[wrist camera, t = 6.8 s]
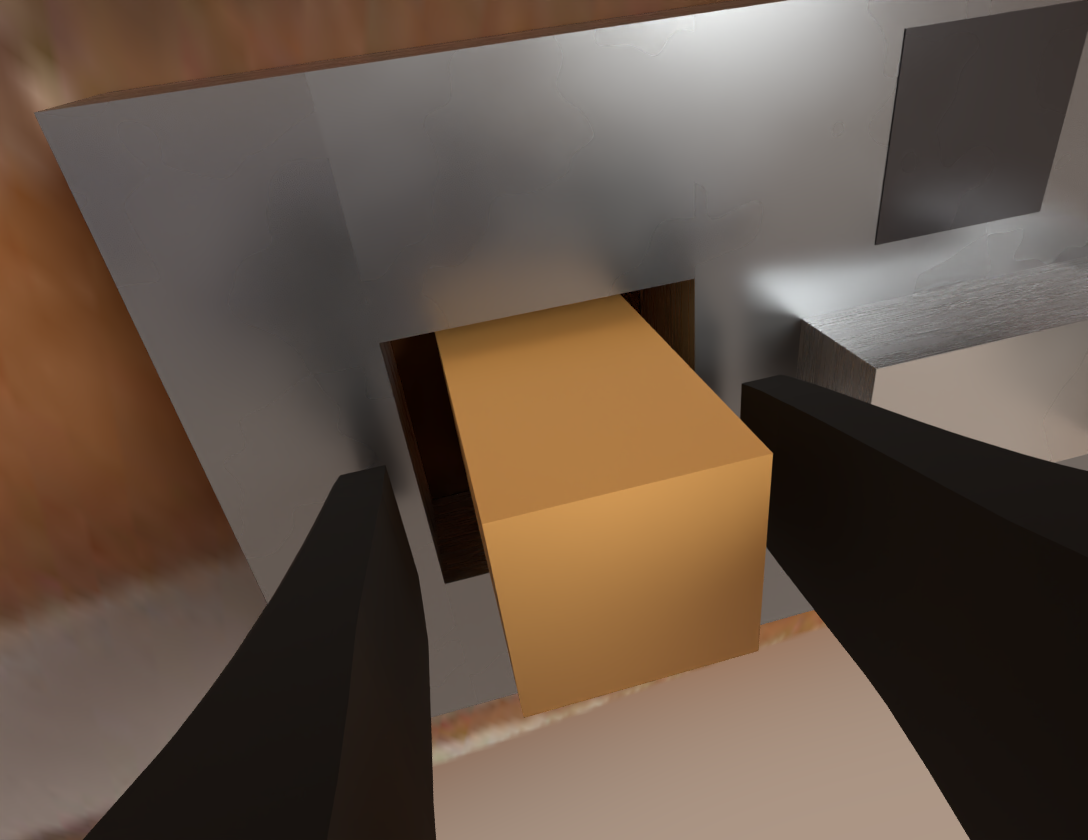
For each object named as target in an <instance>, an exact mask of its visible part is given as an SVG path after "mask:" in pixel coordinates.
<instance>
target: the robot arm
mask: <svg viewBox="0 0 1088 840" xmlns="http://www.w3.org/2000/svg"><path fill="white" fill-rule="evenodd" d="M740 420H741V421H742V422H743V423H744V424H745V425H746V426H747V427H748V428H749V429H750V430H751V431H752V432H753V433H754V434H755V435H756V436H757V437H758V438H759V439H760V440H761V441H762V442H763V443H764V444H765V445H766V447H767V448H768V449H769V450H770V451H771V452H772V453H773V460H772V474H771V487H770V500H769V514H768V527H767V541H766V547H767V549H768V550H769V552H770V553H771V554H772V556H773V557H774V558H775V560H776V561H777V562H778V564H779V565H780V566H781V568H782V569H783V570H784V572H785V573H786V574H787V575H788V577H789V578H790V579H791V581H792V582H793V583H794V585H795V586H796V587H797V588H798V590H799V591H800V592H801V594H802V595H803V596H804V597H805V599H806V600H807V601H808V603H809V604H810V605H811V606H812V608H813V609H814V610H815V611H816V613H817V614H818V615H819V617H820V618H821V619H822V620H823V622H824V623H825V624H826V625H827V627H828V628H829V629H830V631H831V632H832V633H833V634H834V636H835V637H836V638H837V639H838V641H839V642H840V643H841V645H842V646H843V647H844V648H845V650H846V651H847V652H848V653H849V655H850V656H851V657H852V658H853V660H854V661H855V662H856V663H857V665H858V666H859V667H860V669H861V670H862V671H863V672H864V674H865V675H866V677H867V678H868V679H869V681H870V682H871V684H872V685H873V686H874V688H875V689H876V690H877V692H878V693H879V695H880V696H881V697H882V699H883V700H884V702H885V703H886V704H887V706H888V707H889V709H890V711H891V712H892V714H893V715H894V717H895V719H896V720H897V722H898V723H899V725H900V726H901V728H902V730H903V731H904V733H905V734H906V736H907V737H908V739H909V741H910V742H911V744H912V745H913V747H914V748H915V750H916V751H917V753H918V755H919V756H920V758H921V759H922V761H923V762H924V764H925V766H926V767H927V769H928V770H929V772H930V774H931V775H932V777H933V778H934V780H935V782H936V784H937V785H938V787H939V789H940V790H941V792H942V793H943V795H944V797H945V799H946V800H947V802H948V803H949V805H950V807H951V808H952V810H953V812H954V814H955V815H956V817H957V819H958V820H959V822H960V824H961V825H962V827H963V829H964V830H965V832H966V834H967V835H968V837H969V838H970V840H1088V471H1086V470H1082V469H1078V468H1074V467H1069V466H1065V465H1061V464H1057V463H1054V462H1050V461H1046V460H1043V459H1039V458H1035V457H1032V456H1028V455H1025V454H1021V453H1018V452H1015V451H1011V450H1008V449H1005V448H1001V447H998V446H995V445H992V444H988V443H985V442H982V441H978V440H975V439H972V438H969V437H966V436H962V435H959V434H956V433H953V432H950V431H947V430H944V429H941V428H938V427H935V426H932V425H929V424H926V423H924V422H921V421H918V420H915V419H912V418H909V417H906V416H903V415H901V414H898V413H895V412H892V411H889V410H887V409H884V408H881V407H878V406H875V405H873V404H870V403H867V402H864V401H861V400H859V399H856V398H853V397H850V396H847V395H845V394H842V393H839V392H836V391H833V390H830V389H827V388H825V387H822V386H819V385H816V384H813V383H810V382H806V381H803V380H800V379H796V378H793V377H789V376H785V375H781V374H780V375H776V376H772V377H767V378H763V379H759V380H754V381H750V382H745V383H742V384H741V409H740ZM83 840H436V832H435V818H434V804H433V770H432V737H431V703H430V672H429V645H428V635H427V628H426V621H425V614H424V607H423V601H422V594H421V588H420V581H419V575H418V572H417V568H416V565H415V562H414V558H413V555H412V552H411V548H410V545H409V542H408V538H407V535H406V532H405V528H404V525H403V522H402V518H401V515H400V512H399V508H398V505H397V502H396V498H395V495H394V492H393V488H392V485H391V482H390V478H389V475H388V472H387V468H386V465H382V466H378V467H374V468H369V469H365V470H361V471H356V472H352V473H347V474H343V475H340V476H339V477H338V479H337V480H336V482H335V483H334V485H333V487H332V488H331V490H330V492H329V494H328V496H327V498H326V500H325V502H324V504H323V506H322V508H321V510H320V512H319V514H318V516H317V518H316V520H315V522H314V524H313V526H312V528H311V530H310V531H309V533H308V535H307V537H306V539H305V541H304V543H303V544H302V546H301V548H300V550H299V552H298V553H297V555H296V557H295V559H294V560H293V562H292V564H291V565H290V567H289V569H288V571H287V572H286V574H285V576H284V578H283V579H282V581H281V583H280V585H279V586H278V588H277V590H276V591H275V593H274V595H273V596H272V598H271V600H270V601H269V603H268V604H267V606H266V607H265V609H264V610H263V612H262V613H261V615H260V616H259V618H258V620H257V621H256V623H255V624H254V626H253V627H252V629H251V630H250V632H249V633H248V635H247V636H246V638H245V639H244V641H243V643H242V644H241V646H240V647H239V649H238V650H237V652H236V653H235V655H234V656H233V658H232V659H231V660H230V662H229V663H228V665H227V666H226V667H225V669H224V670H223V672H222V673H221V674H220V676H219V677H218V679H217V680H216V681H215V683H214V684H213V686H212V687H211V688H210V690H209V691H208V692H207V694H206V695H205V696H204V698H203V699H202V700H201V702H200V703H199V704H198V705H197V707H196V708H195V709H194V711H193V712H192V713H191V714H190V716H189V717H188V718H187V720H186V721H185V722H184V724H183V725H182V726H181V727H180V729H179V730H178V731H177V733H176V734H175V735H174V736H173V737H172V739H171V740H170V741H169V742H168V744H167V745H166V746H165V747H164V748H163V750H162V751H161V752H160V753H159V754H158V755H157V756H156V758H155V759H154V760H153V761H152V762H151V763H150V764H149V765H148V767H147V768H146V769H145V770H144V771H143V772H142V773H141V775H140V776H139V777H138V778H137V779H136V780H135V781H134V782H133V784H132V785H131V786H130V787H129V788H128V789H127V790H126V791H125V793H124V794H123V795H122V796H121V797H120V798H119V799H118V801H117V802H116V803H115V804H114V805H113V806H112V807H111V808H110V810H109V811H108V812H107V813H106V814H105V815H104V816H103V818H102V819H101V820H100V821H99V822H98V823H97V824H96V825H95V827H94V828H93V829H92V830H91V831H90V832H89V833H88V834H87V836H86V837H85V838H84V839H83Z"/></svg>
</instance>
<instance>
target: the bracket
mask: <svg viewBox="0 0 1088 840" xmlns="http://www.w3.org/2000/svg"><path fill="white" fill-rule="evenodd" d="M796 379H800V380H803V381H806V382H810V383H813V384H816V385H819V386H822V387H825V388H827V389H830V390H833V391H836V392H839V393H842V394H845V395H847V396H850V397H853V398H856V399H859V400H861V401H864V402H867V403H870V404H873V405H875V406H878V407H881V408H884V409H887V410H889V411H892V412H895V413H898V414H901V415H903V416H906V417H909V418H912V419H915V420H918V421H921V422H924V423H926V424H929V425H932V426H935V427H938V428H941V429H944V430H947V431H950V432H953V433H956V434H959V435H962V436H966V437H969V438H972V439H975V440H978V441H982V442H985V443H988V444H992V445H995V446H998V447H1001V448H1005V449H1008V450H1011V451H1015V452H1018V453H1021V454H1025V455H1028V456H1032V457H1035V458H1039V459H1043V460H1046V461H1050V462H1054V463H1055V462H1059V461H1063V460H1066V459H1070V458H1074V457H1078V456H1082V455H1086V454H1088V257H1083V258H1078V259H1074V260H1069V261H1065V262H1060V263H1055V264H1051V265H1046V266H1042V267H1037V268H1032V269H1028V270H1023V271H1019V272H1014V273H1009V274H1005V275H1000V276H996V277H991V278H987V279H982V280H977V281H973V282H968V283H964V284H959V285H954V286H950V287H945V288H941V289H936V290H931V291H927V292H922V293H918V294H913V295H908V296H904V297H899V298H895V299H890V300H885V301H881V302H876V303H872V304H867V305H862V306H858V307H853V308H849V309H844V310H840V311H835V312H830V313H826V314H821V315H817V316H812V317H807V318H803V319H802V321H801V332H800V343H799V355H798V366H797V377H796Z"/></svg>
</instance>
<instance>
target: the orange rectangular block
mask: <svg viewBox="0 0 1088 840" xmlns="http://www.w3.org/2000/svg"><path fill="white" fill-rule="evenodd" d="M434 333H435V337H436V342H437V346H438V351H439V355H440V360H441V364H442V369H443V373H444V378H445V382H446V387H447V391H448V396H449V400H450V405H451V410H452V414H453V419H454V423H455V428H456V432H457V437H458V441H459V446H460V450H461V454H462V459H463V463H464V467H465V471H466V476H467V480H468V484H469V488H470V492H471V497H472V501H473V505H474V509H475V514H476V518H477V522H478V526H479V531H480V535H481V539H482V543H483V547H484V552H485V556H486V560H487V564H488V569H489V573H490V577H491V581H492V586H493V590H494V594H495V598H496V602H497V607H498V611H499V615H500V619H501V624H502V628H503V632H504V636H505V641H506V645H507V649H508V653H509V657H510V662H511V666H512V670H513V674H514V679H515V683H516V687H517V691H518V696H519V700H520V704H521V708H522V712H523V717H524V718H525V717H529V716H532V715H536V714H539V713H543V712H546V711H550V710H553V709H557V708H560V707H564V706H567V705H571V704H574V703H578V702H581V701H585V700H588V699H592V698H595V697H599V696H602V695H606V694H609V693H613V692H616V691H620V690H623V689H627V688H630V687H634V686H637V685H641V684H644V683H648V682H651V681H655V680H658V679H662V678H665V677H669V676H672V675H676V674H679V673H683V672H686V671H690V670H693V669H697V668H700V667H704V666H707V665H711V664H714V663H718V662H721V661H725V660H728V659H732V658H735V657H739V656H742V655H746V654H749V653H753V652H756V651H758V649H759V635H760V622H761V608H762V595H763V581H764V568H765V554H766V541H767V527H768V514H769V500H770V487H771V474H772V460H773V453H772V452H771V451H770V450H769V449H768V448H767V447H766V445H765V444H764V443H763V442H762V441H761V440H760V439H759V438H758V437H757V436H756V435H755V434H754V433H753V432H752V431H751V430H750V429H749V428H748V427H747V426H746V425H745V424H744V423H743V422H742V421H741V420H740V418H739V417H738V416H737V415H736V414H735V413H734V412H733V411H732V410H731V409H730V408H729V407H728V406H727V405H726V404H725V403H724V402H723V401H722V400H721V399H720V398H719V397H718V396H717V395H716V394H715V392H714V391H713V390H712V389H711V388H710V387H709V386H708V385H707V384H706V383H705V382H704V381H703V380H702V379H701V378H700V377H699V376H698V375H697V374H696V373H695V372H694V371H693V370H692V369H691V368H690V366H689V365H688V364H687V363H686V362H685V361H684V360H683V359H682V358H681V357H680V356H679V355H678V354H677V353H676V352H675V351H674V350H673V349H672V348H671V347H670V346H669V345H668V344H667V343H666V342H665V340H664V339H663V338H662V337H661V336H660V335H659V334H658V333H657V332H656V331H655V330H654V329H653V328H652V327H651V326H650V325H649V324H648V323H647V322H646V321H645V320H644V319H643V318H642V317H641V316H640V315H639V313H638V312H637V311H636V310H635V309H634V308H633V307H632V306H631V305H630V304H629V303H628V302H627V301H626V300H625V299H624V298H623V297H622V296H621V295H620V294H617V295H612V296H607V297H602V298H597V299H592V300H587V301H582V302H578V303H573V304H568V305H563V306H558V307H553V308H548V309H543V310H538V311H534V312H529V313H524V314H519V315H514V316H509V317H504V318H499V319H494V320H489V321H485V322H480V323H475V324H470V325H465V326H460V327H455V328H450V329H445V330H441V331H436V332H434Z"/></svg>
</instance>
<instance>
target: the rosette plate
mask: <svg viewBox="0 0 1088 840" xmlns="http://www.w3.org/2000/svg"><path fill="white" fill-rule="evenodd" d="M34 114H35V116H36V118H37V120H38V122H39V124H40V127H41V129H42V131H43V133H44V135H45V137H46V139H47V141H48V143H49V145H50V148H51V150H52V152H53V154H54V156H55V158H56V160H57V162H58V164H59V166H60V169H61V171H62V173H63V175H64V177H65V179H66V181H67V183H68V185H69V188H70V190H71V192H72V194H73V196H74V198H75V200H76V202H77V204H78V206H79V209H80V211H81V213H82V215H83V217H84V219H85V221H86V223H87V225H88V227H89V230H90V232H91V234H92V236H93V238H94V240H95V242H96V244H97V246H98V248H99V251H100V253H101V255H102V257H103V259H104V261H105V263H106V265H107V267H108V269H109V272H110V274H111V276H112V278H113V280H114V282H115V284H116V286H117V288H118V290H119V293H120V295H121V297H122V299H123V301H124V303H125V305H126V307H127V309H128V312H129V314H130V316H131V318H132V320H133V322H134V324H135V326H136V328H137V330H138V333H139V335H140V337H141V339H142V341H143V343H144V345H145V347H146V349H147V351H148V354H149V356H150V358H151V360H152V362H153V364H154V366H155V368H156V370H157V372H158V375H159V377H160V379H161V381H162V383H163V385H164V387H165V389H166V391H167V393H168V396H169V398H170V400H171V402H172V404H173V406H174V408H175V410H176V412H177V415H178V417H179V419H180V421H181V423H182V425H183V427H184V429H185V431H186V433H187V436H188V438H189V440H190V442H191V444H192V446H193V448H194V450H195V452H196V454H197V457H198V459H199V461H200V463H201V465H202V467H203V469H204V471H205V473H206V475H207V478H208V480H209V482H210V484H211V486H212V488H213V490H214V492H215V494H216V496H217V499H218V501H219V503H220V505H221V507H222V509H223V511H224V513H225V515H226V517H227V520H228V522H229V524H230V526H231V528H232V530H233V532H234V534H235V536H236V539H237V541H238V543H239V545H240V547H241V549H242V551H243V553H244V555H245V557H246V560H247V562H248V564H249V566H250V568H251V570H252V572H253V574H254V576H255V578H256V581H257V583H258V585H259V587H260V589H261V591H262V593H263V595H264V597H265V599H266V602H267V604H268V603H269V601H270V600H271V598H272V596H273V595H274V593H275V591H276V590H277V588H278V586H279V585H280V583H281V581H282V579H283V578H284V576H285V574H286V572H287V571H288V569H289V567H290V565H291V564H292V562H293V560H294V559H295V557H296V555H297V553H298V552H299V550H300V548H301V546H302V544H303V543H304V541H305V539H306V537H307V535H308V533H309V531H310V530H311V528H312V526H313V524H314V522H315V520H316V518H317V516H318V514H319V512H320V510H321V508H322V506H323V504H324V502H325V500H326V498H327V496H328V494H329V492H330V490H331V488H332V487H333V485H334V483H335V482H336V480H337V479H338V477H339V476H340V475H343V474H347V473H352V472H356V471H361V470H365V469H369V468H374V467H378V466H382V465H386V468H387V472H388V475H389V478H390V482H391V485H392V488H393V492H394V495H395V498H396V502H397V505H398V508H399V512H400V515H401V518H402V522H403V525H404V528H405V532H406V535H407V538H408V542H409V545H410V548H411V552H412V555H413V558H414V562H415V565H416V568H417V572H418V575H419V581H420V588H421V594H422V601H423V607H424V614H425V621H426V628H427V635H428V645H429V672H430V703H431V717H434V716H438V715H441V714H445V713H448V712H452V711H455V710H459V709H463V708H466V707H470V706H473V705H477V704H480V703H484V702H487V701H491V700H495V699H498V698H502V697H505V696H509V695H512V694H516V693H518V691H517V687H516V683H515V679H514V674H513V670H512V666H511V662H510V657H509V653H508V649H507V645H506V641H505V636H504V632H503V628H502V624H501V619H500V615H499V611H498V607H497V602H496V598H495V594H494V590H493V586H492V581H491V577H490V573H489V569H488V564H487V560H486V556H485V552H484V547H483V543H482V539H481V535H480V531H479V526H478V522H477V518H476V514H475V509H474V505H473V501H472V497H471V492H470V491H468V492H463V493H459V494H455V495H451V496H447V497H442V498H438V499H434V500H432V497H431V494H430V490H429V486H428V482H427V478H426V475H425V471H424V467H423V463H422V459H421V456H420V452H419V448H418V444H417V440H416V437H415V433H414V429H413V425H412V421H411V418H410V414H409V410H408V406H407V402H406V399H405V395H404V391H403V387H402V383H401V380H400V376H399V372H398V368H397V364H396V361H395V357H394V353H393V349H392V345H391V342H390V341H392V340H397V339H401V338H406V337H411V336H416V335H421V334H426V333H431V332H436V331H441V330H445V329H450V328H455V327H460V326H465V325H470V324H475V323H480V322H485V321H489V320H494V319H499V318H504V317H509V316H514V315H519V314H524V313H529V312H534V311H538V310H543V309H548V308H553V307H558V306H563V305H568V304H573V303H578V302H582V301H587V300H592V299H597V298H602V297H607V296H612V295H617V294H622V293H626V292H631V291H636V290H640V309H641V317H642V318H643V319H644V320H645V321H646V322H647V323H648V324H649V325H650V326H651V327H652V328H653V329H654V330H655V331H656V332H657V333H658V334H659V335H660V336H661V337H662V338H663V339H664V340H665V342H666V343H667V344H668V345H669V346H670V347H671V348H672V349H673V350H674V351H675V352H676V353H677V354H678V355H679V356H680V357H681V358H682V359H683V360H684V361H685V362H686V363H687V364H688V365H689V366H690V368H691V369H692V370H693V371H694V372H695V373H696V374H697V375H698V376H699V377H700V378H701V379H702V380H703V381H704V382H705V383H706V384H707V385H708V386H709V387H710V388H711V389H712V390H713V391H714V392H715V394H716V395H717V396H718V397H719V398H720V399H721V400H722V401H723V402H724V403H725V404H726V405H727V406H728V407H729V408H730V409H731V410H732V411H733V412H734V413H735V414H736V415H737V416H738V417H739V418H740V409H741V384H742V383H745V382H750V381H754V380H759V379H763V378H767V377H772V376H776V375H780V374H781V375H785V376H789V377H793V378H796V377H797V366H798V355H799V343H800V332H801V321H802V319H803V318H807V317H812V316H817V315H821V314H826V313H830V312H835V311H840V310H844V309H849V308H853V307H858V306H862V305H867V304H872V303H876V302H881V301H885V300H890V299H895V298H899V297H904V296H908V295H913V294H918V293H922V292H927V291H931V290H936V289H941V288H945V287H950V286H954V285H959V284H964V283H968V282H973V281H977V280H982V279H987V278H991V277H996V276H1000V275H1005V274H1009V273H1014V272H1019V271H1023V270H1028V269H1032V268H1037V267H1042V266H1046V265H1051V264H1055V263H1060V262H1065V261H1069V260H1074V259H1078V258H1083V257H1088V0H733V1H726V2H719V3H712V4H705V5H699V6H692V7H685V8H678V9H671V10H665V11H658V12H651V13H644V14H637V15H631V16H624V17H617V18H610V19H604V20H597V21H590V22H583V23H576V24H570V25H563V26H556V27H549V28H542V29H536V30H529V31H522V32H515V33H508V34H502V35H495V36H488V37H481V38H474V39H468V40H461V41H454V42H447V43H441V44H434V45H427V46H420V47H413V48H407V49H400V50H393V51H386V52H379V53H373V54H366V55H359V56H352V57H345V58H339V59H332V60H325V61H318V62H311V63H305V64H298V65H291V66H284V67H278V68H271V69H264V70H257V71H250V72H244V73H237V74H230V75H223V76H216V77H210V78H203V79H196V80H189V81H182V82H176V83H169V84H162V85H155V86H148V87H142V88H135V89H128V90H121V91H115V92H108V93H104V94H100V95H97V96H93V97H89V98H86V99H82V100H78V101H75V102H71V103H67V104H64V105H60V106H57V107H53V108H49V109H46V110H42V111H38V112H35V113H34ZM1055 463H1057V464H1061V465H1065V466H1069V467H1074V468H1078V469H1082V470H1086V471H1088V454H1086V455H1082V456H1078V457H1074V458H1070V459H1066V460H1063V461H1059V462H1055ZM811 610H814V609H813V608H812V606H811V605H810V604H809V603H808V601H807V600H806V599H805V597H804V596H803V595H802V594H801V592H800V591H799V590H798V588H797V587H796V586H795V585H794V583H793V582H792V581H791V579H790V578H789V577H788V575H787V574H786V573H785V572H784V570H783V569H782V568H781V566H780V565H779V564H778V562H777V561H776V560H775V558H774V557H773V556H772V554H771V553H770V552H769V550H768V549H767V547H766V554H765V568H764V581H763V595H762V608H761V622H760V625H762V624H765V623H769V622H772V621H776V620H779V619H783V618H787V617H790V616H794V615H797V614H801V613H804V612H808V611H811Z"/></svg>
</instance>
